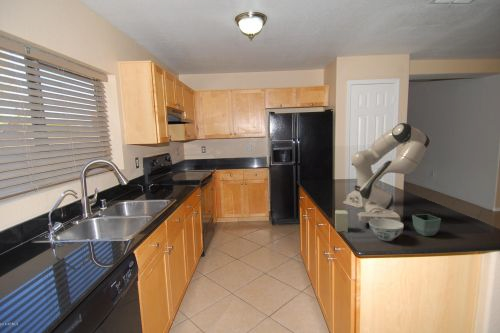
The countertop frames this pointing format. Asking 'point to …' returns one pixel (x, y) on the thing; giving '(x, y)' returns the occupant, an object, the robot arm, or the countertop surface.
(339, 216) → the sage block
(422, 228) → the flower pot
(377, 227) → the chinaware
